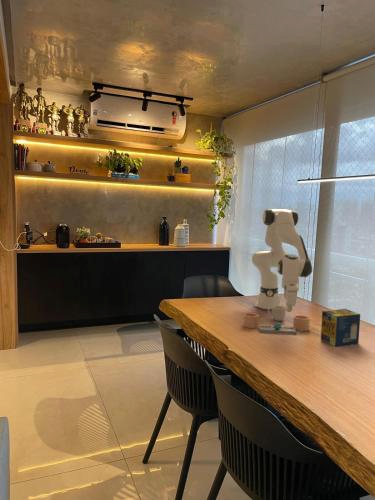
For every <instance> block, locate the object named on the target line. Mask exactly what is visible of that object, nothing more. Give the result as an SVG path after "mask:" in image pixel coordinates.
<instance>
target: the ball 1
mask: <svg viewBox="0 0 375 500" xmlns="http://www.w3.org/2000/svg"><path fill="white" fill-rule="evenodd" d="M273 326H274V328H275V329H277V330H278V329H280V328H281V327H282V324H281V322H280V321H276V322H274V324H273Z"/></svg>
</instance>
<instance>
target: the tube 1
mask: <svg viewBox="0 0 375 500" xmlns="http://www.w3.org/2000/svg"><path fill="white" fill-rule="evenodd" d="M259 323H260V314H258V313H255V312H245V313H243V324H242V325H243V326H242V327H244V328H247V329H257V328H258V329H259V326H260V325H259Z"/></svg>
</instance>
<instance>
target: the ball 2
mask: <svg viewBox="0 0 375 500" xmlns="http://www.w3.org/2000/svg"><path fill="white" fill-rule="evenodd" d="M284 307H285V310H286V311H285V312H286V313H291V312H292V311H293V310H294V309H293V307H294V306H292V310H291V311H288V305H287V306H286V305H285V306H284Z"/></svg>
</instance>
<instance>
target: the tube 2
mask: <svg viewBox="0 0 375 500" xmlns="http://www.w3.org/2000/svg"><path fill="white" fill-rule="evenodd" d="M292 321H293V322H292V323H293V324H292V327H294V328H295V330H296V331H300V332H308V331H310V323H311V322H310V321H311V317H309V316H307V315H302V314H297V315H293V320H292Z"/></svg>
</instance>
